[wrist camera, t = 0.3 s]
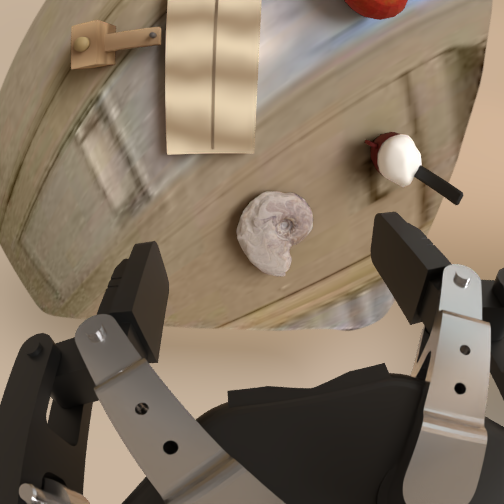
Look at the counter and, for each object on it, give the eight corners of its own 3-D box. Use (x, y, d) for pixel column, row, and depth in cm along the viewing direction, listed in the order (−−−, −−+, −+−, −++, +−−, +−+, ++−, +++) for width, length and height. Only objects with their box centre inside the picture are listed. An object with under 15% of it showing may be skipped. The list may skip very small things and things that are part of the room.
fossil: (250, 191, 35) (327, 205, 38) (244, 180, 39) (316, 194, 41) (229, 278, 41) (299, 284, 43) (226, 261, 44) (291, 268, 47)
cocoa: (350, 142, 37) (389, 172, 27) (383, 112, 34) (432, 132, 24) (389, 189, 41) (430, 231, 30) (419, 162, 38) (467, 196, 28)
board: (171, -7, 24) (168, -11, 23) (259, -8, 25) (262, -12, 23) (169, 150, 35) (167, 154, 33) (252, 149, 36) (254, 153, 34)
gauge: (93, 30, 25) (68, 25, 20) (165, 19, 26) (153, 8, 20) (92, 68, 28) (67, 69, 22) (164, 58, 29) (151, 55, 23)
